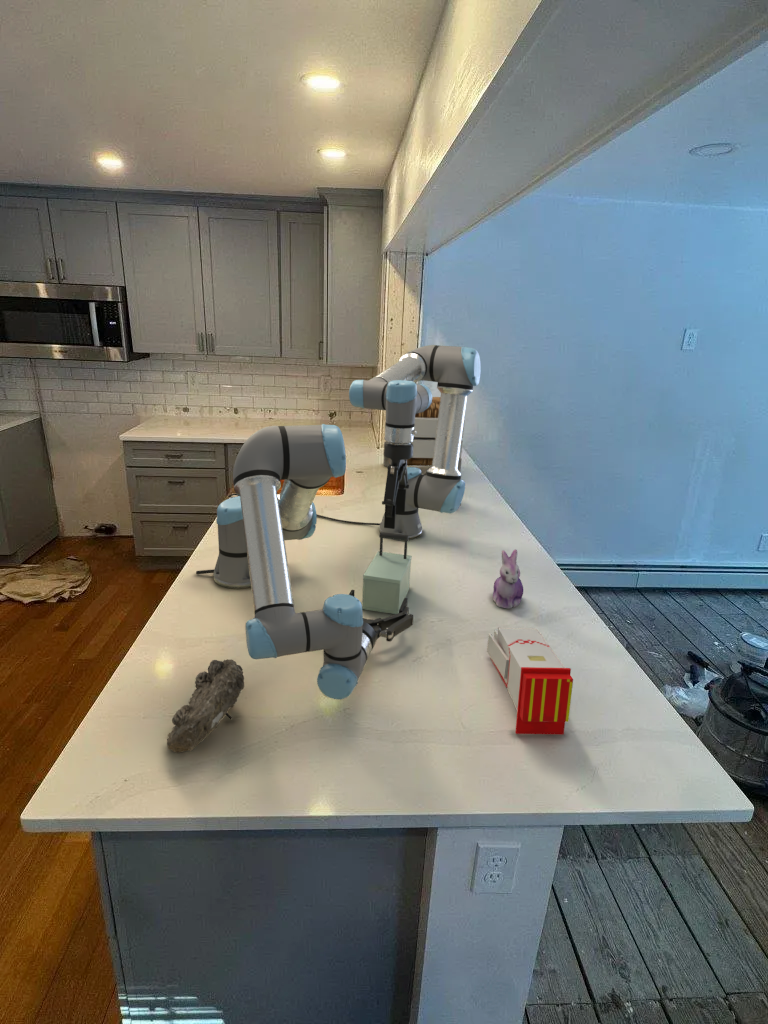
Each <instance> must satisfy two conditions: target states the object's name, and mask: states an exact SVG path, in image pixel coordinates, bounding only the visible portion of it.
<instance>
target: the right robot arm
mask: <svg viewBox="0 0 768 1024" xmlns="http://www.w3.org/2000/svg"><path fill="white" fill-rule="evenodd" d="M481 370H482V365H481V358H480V354H479V352H478V350H477V349H476V348H474V347H468V346H455V345H438V344H429V345H423V346H420V347H416V348H414V349H412V350H410V351H407V352H405V353H404V354H403V355H401V356H400V357H399V359H398V361H397V362H396V363H394V364H392V365H391V366H389V367H388V368H386V369H385V370H383V371H381V372H380V373H378V374H376V375H375V376H374V377H371V378H370V379H368V380H365V379H355V380H353V381H352V382H351V383H350V386H349V390H348V399H349V402H350V404H351V406H352V407H355V408H360V409H364V410H365V409H366V410H367V409H368V410H375V411H376V410H377V411H385V422H384V442H385V443H384V442H383V457H384V456H385V457H386V458H390V459H391V460H392V462H391V465H389V466H388V467H387V475H386V480H385V488H384V489H385V490H384V494H383V495H384V496H383V500H381V505H383V506H384V513H383V515H382V519H381V522H363V521H351V520H344V519H338V518H333V517H330V516H329V517H328V516H325V515H320V514H317V513H316V515H317V518H321V519H325V520H329V521H335V522H339V523H345V524H351V525H353V524H354V525H365V526H378V533H380V532H388V533H396V534H404V535H409V539H408V541H410V540H415V539H418V538H420V537H421V536H422V535H423V525H422V522H421V518H420V515H419V509H420V510H427V511H433V512H438V513H441V514H443V513H444V514H454V513H456V512H457V511H458V509H459V508H460V506H461V505H462V502H463V499H464V495H465V490H466V481H465V480H463V479H462V473H460V472H459V471H458V461H459V453H460V446H461V440H462V439H463V438H462V431H463V424H464V425H465V421H464V420H465V416H466V408H467V401H468V396H469V395H470V394H472V393H473V390H474V387H477V386H478V385H479V384H480V381H481V375H482V374H481V373H482V372H481ZM421 381H423V382H432V383H437V384H436V388H437V390H438V391H439V392H440V397H441V398H440V406H439V413H438V421H437V429H436V437H435V445H434V453H433V461H432V465H430V466H429V468H428V469H427V470H426V473H425V474H422V470H421V468H419V467H416V466H407V459H410V458H412V456H413V444H412V443H411V442H413V439H414V434H416V431H414V426H415V414H418V413H421V412H424V411H425V410H426V409H427V408H428V407H429V406H430V405H431V402H432V397H433V394H432V391H431V389H430V388H429V387H428V386H427V385H425V384H423V383H419V382H421ZM386 441H387V442H386ZM232 496H233V497H234V496H235V497H237V496H240V495H238V494H237V493H231V494H229V495H228V496H227V497H228V498H232ZM460 504H461V505H460Z"/></svg>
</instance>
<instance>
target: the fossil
mask: <svg viewBox="0 0 768 1024" xmlns="http://www.w3.org/2000/svg"><path fill="white" fill-rule="evenodd" d="M243 670H244V669H243V667H242V665H240V664H237V662H236V661H235V660H234V659H232V658H231V659H227V658H226V659H224V660H223V661H222V660H217V659H212V660H211V661H210V663H209V665H208V666H207V671H201V672H199V673H198V674H197V675H196V676H195V680H194V684H195V685H194V687H195V689H194V690H193V693H192V694H191V697H190V698H189V700H188V704H184V705H182V706H181V707H180V709H177V710H176V711H175V713H174V715H173V716H172V718H171V723H172V724H173V727H172V730H171V731H170V732H168V734H167V738H166V741H167V742H166V745H167V749H168V750H169V751H173V752H174V753H176V754H178V753H182V752H188V751H189V752H192V751H193V750H195V748H196V747H197V746H199V744H200V743H201V742H203V741H204V740H205V739H206V738H207V737H208V736H209V735H210V734H211V733H212V732H214V730H215V729H217V727H218V726H219V724H220V722H221V721H222V720H223V719H224V718H225V716H226V717H227V719H229V720H233V717H232V715H230V714H229V710H230V709H231V708H234V706H235V704H236V703H237V702H238V699H239V697H240V695H241V693H242V691H243V690H245V689H244V688H245V675H244V671H243Z"/></svg>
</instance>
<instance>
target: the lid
mask: <svg viewBox="0 0 768 1024" xmlns="http://www.w3.org/2000/svg"><path fill="white" fill-rule="evenodd" d="M378 536H379V537H378V538H379V550H377V552H376V554H375V555H374V557H373V558H372V560H371V562H370V563H369V565H368V567H367V568H366V570H365V572H364V573H363V577H362V580H363V579H369V580H376V581H383V582H390V583H397V584H400V583H401V581H402V579H403V576H404V574H405V572H406V570H407V568H408V566H409V563H410V561H411V562H412V557H413V555H410V554H409V555H408V542H409V540H408V539H409V535H404V534H396V533H388V532H379V535H378ZM385 539H386V540H394V541H401V542H402V541H403V542H404V546H403V547H404V548H403V554H401V553H395V552H394V553H393V552H386V551H383V549H384V548H383V547H384V540H385Z"/></svg>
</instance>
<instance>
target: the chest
mask: <svg viewBox="0 0 768 1024" xmlns="http://www.w3.org/2000/svg"><path fill="white" fill-rule="evenodd" d="M411 565H412V560H411V561H410V563H409V566H408V568H407V570H406V572H405V574H404V576H403V579H402V581H401V583H400V584H397V583H390V582H383V581H376V580H369V579H363V578H362V602H361V604H362V610H366V611H373V612H379V613H385V614H392V615H395V614H398V613H399V609H400V607H401V605H402V602H403V600H404V598H407V595H408V592H409V590H410V584H411V583H410V580H411Z"/></svg>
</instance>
